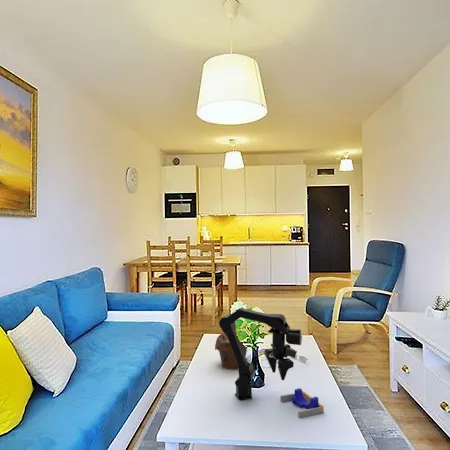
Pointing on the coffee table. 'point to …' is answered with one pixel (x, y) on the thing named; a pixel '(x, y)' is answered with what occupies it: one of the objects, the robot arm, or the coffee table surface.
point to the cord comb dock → (308, 398)
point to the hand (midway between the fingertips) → (278, 376)
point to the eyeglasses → (302, 358)
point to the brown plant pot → (227, 352)
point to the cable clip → (301, 401)
